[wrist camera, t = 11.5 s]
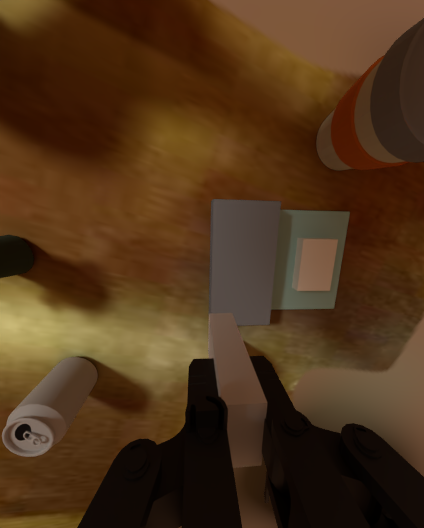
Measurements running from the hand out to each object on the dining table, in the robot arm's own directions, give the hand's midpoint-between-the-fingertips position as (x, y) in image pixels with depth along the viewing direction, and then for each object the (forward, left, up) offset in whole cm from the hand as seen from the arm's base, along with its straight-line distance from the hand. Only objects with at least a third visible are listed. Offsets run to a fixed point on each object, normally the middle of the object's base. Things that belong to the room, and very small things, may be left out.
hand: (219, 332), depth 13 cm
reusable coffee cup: (-20, +22, -23) cm, 37 cm away
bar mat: (0, +18, -22) cm, 29 cm away
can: (+21, -23, -23) cm, 38 cm away
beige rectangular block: (0, +19, -20) cm, 28 cm away
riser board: (0, +6, -22) cm, 23 cm away
